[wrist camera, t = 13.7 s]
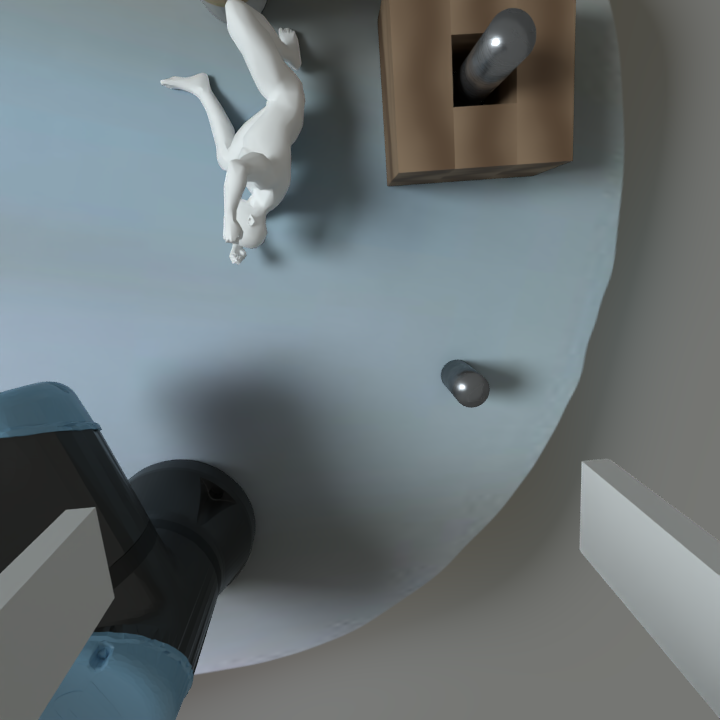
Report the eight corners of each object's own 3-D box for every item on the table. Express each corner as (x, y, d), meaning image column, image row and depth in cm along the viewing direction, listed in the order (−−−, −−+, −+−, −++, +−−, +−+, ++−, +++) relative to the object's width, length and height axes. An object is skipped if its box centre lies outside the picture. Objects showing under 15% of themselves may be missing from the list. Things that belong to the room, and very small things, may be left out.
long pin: (441, 120, 46) (487, 65, 32) (439, 83, 45) (487, 9, 31) (475, 118, 46) (536, 61, 32) (474, 80, 45) (536, 6, 31)
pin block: (387, 186, 46) (398, 172, 39) (377, 20, 43) (387, -31, 36) (532, 175, 47) (572, 160, 39) (533, 10, 44) (576, -41, 36)
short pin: (441, 390, 51) (455, 408, 45) (440, 360, 50) (454, 375, 45) (471, 388, 51) (489, 405, 45) (471, 358, 51) (489, 372, 45)
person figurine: (118, -16, 33) (224, 238, 33) (297, -58, 35) (391, 180, 36) (159, 94, 45) (235, 276, 46) (288, 58, 48) (357, 231, 49)
